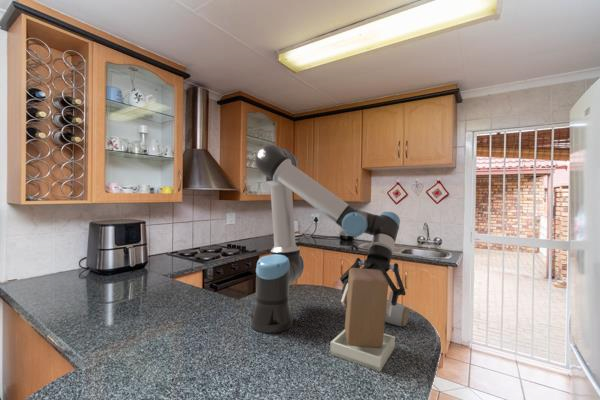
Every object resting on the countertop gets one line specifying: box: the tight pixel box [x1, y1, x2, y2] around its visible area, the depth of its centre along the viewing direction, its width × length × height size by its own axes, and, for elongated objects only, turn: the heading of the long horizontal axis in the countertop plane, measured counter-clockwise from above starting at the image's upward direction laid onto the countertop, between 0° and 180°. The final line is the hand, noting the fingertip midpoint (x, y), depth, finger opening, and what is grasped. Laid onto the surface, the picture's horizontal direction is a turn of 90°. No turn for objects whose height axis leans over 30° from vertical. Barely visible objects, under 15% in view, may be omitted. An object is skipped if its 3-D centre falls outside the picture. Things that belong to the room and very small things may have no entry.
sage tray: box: [329, 328, 396, 372], centre depth 86 cm, size 15×15×4 cm
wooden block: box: [344, 267, 389, 349], centre depth 84 cm, size 10×10×20 cm
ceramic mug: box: [385, 299, 410, 327], centre depth 106 cm, size 11×8×8 cm
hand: (364, 309), depth 85 cm, fingers open, 13 cm apart
